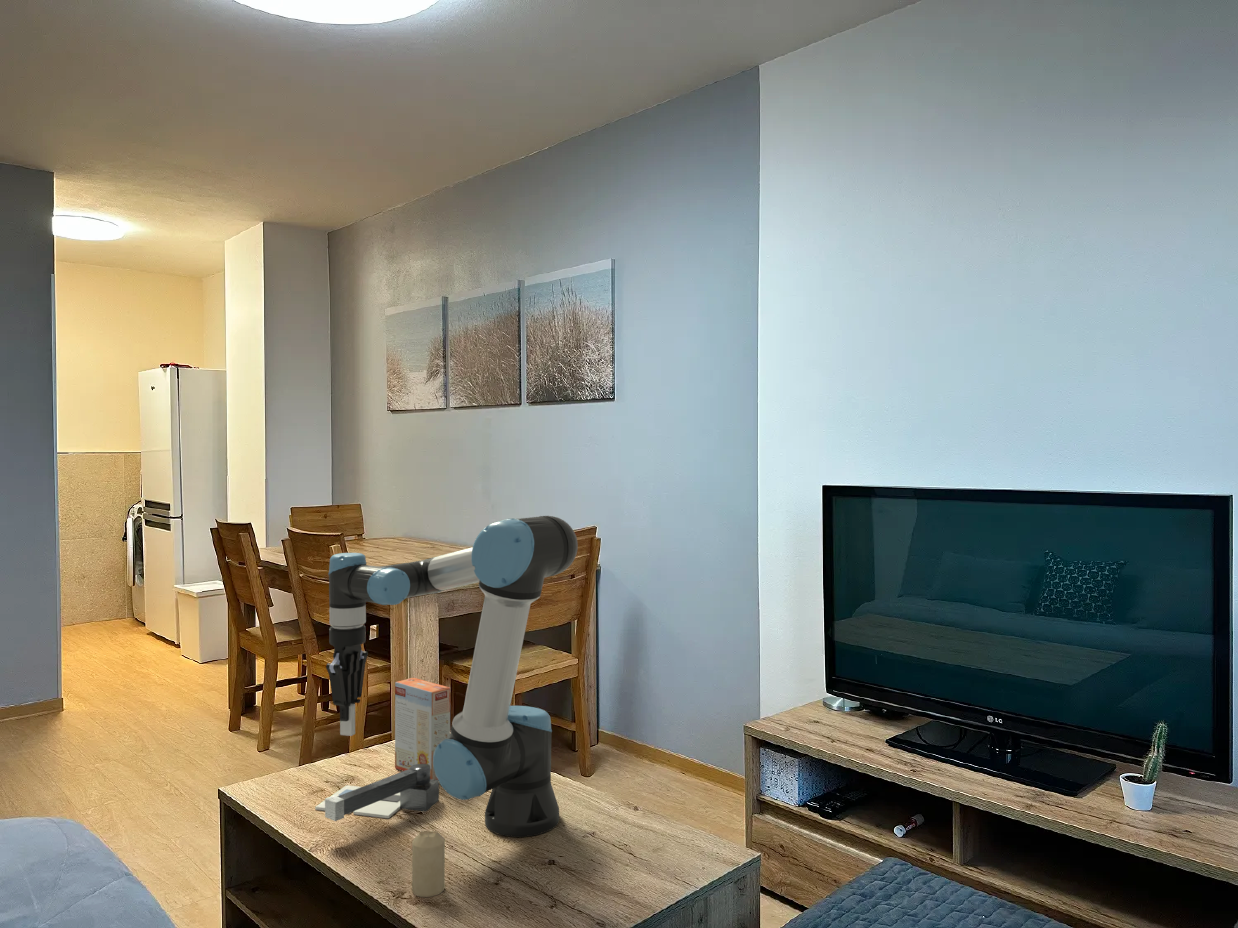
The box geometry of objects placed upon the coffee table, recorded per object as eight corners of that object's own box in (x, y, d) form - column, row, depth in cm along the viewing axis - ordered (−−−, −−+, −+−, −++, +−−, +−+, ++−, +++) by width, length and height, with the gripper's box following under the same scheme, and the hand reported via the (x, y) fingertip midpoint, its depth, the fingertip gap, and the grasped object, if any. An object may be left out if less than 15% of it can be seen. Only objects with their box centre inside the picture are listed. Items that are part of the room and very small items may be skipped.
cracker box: (451, 775, 204) (451, 686, 203) (430, 783, 199) (430, 692, 198) (414, 761, 213) (414, 675, 212) (393, 768, 208) (393, 680, 208)
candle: (446, 881, 155) (447, 825, 155) (441, 897, 149) (441, 839, 149) (415, 881, 155) (415, 825, 154) (409, 897, 149) (409, 839, 149)
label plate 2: (415, 795, 192) (415, 792, 192) (388, 818, 180) (388, 814, 180) (382, 791, 194) (382, 788, 194) (353, 814, 182) (353, 810, 182)
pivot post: (438, 800, 190) (438, 779, 189) (426, 811, 184) (426, 790, 184) (413, 797, 191) (413, 777, 191) (400, 808, 185) (400, 787, 185)
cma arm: (420, 777, 190) (420, 760, 190) (434, 781, 188) (434, 765, 188) (323, 816, 170) (323, 797, 170) (337, 821, 168) (337, 803, 168)
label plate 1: (378, 791, 194) (378, 787, 194) (349, 813, 183) (349, 809, 183) (346, 787, 196) (346, 784, 196) (315, 809, 185) (315, 805, 185)
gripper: (348, 618, 196) (348, 723, 196) (314, 630, 183) (314, 742, 184) (378, 620, 194) (378, 726, 194) (346, 632, 181) (346, 745, 182)
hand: (347, 734), depth 189 cm, fingers closed
